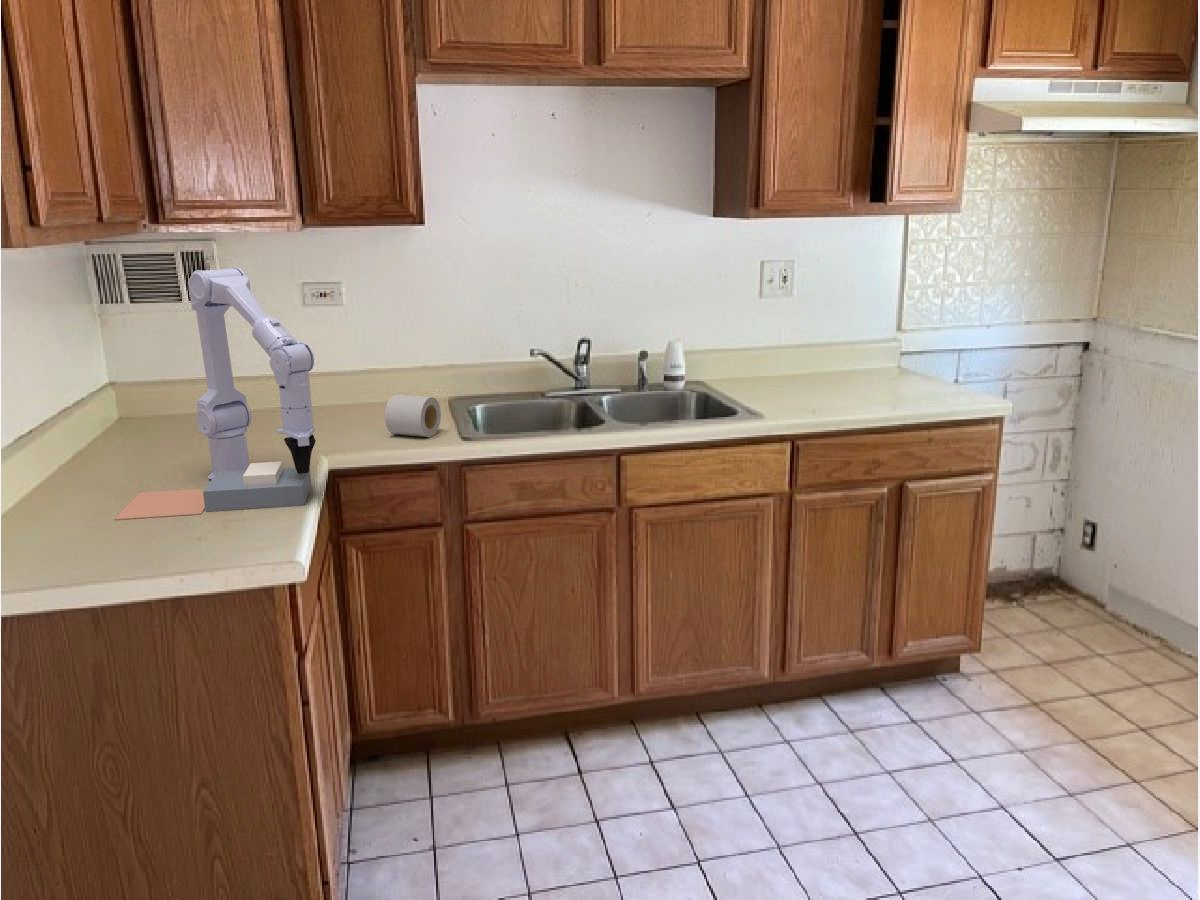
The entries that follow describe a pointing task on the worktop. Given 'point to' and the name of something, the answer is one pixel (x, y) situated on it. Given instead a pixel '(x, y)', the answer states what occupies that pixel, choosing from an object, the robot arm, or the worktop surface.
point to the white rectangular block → (262, 473)
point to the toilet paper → (412, 415)
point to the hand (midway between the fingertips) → (302, 472)
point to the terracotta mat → (164, 504)
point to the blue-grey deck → (255, 491)
